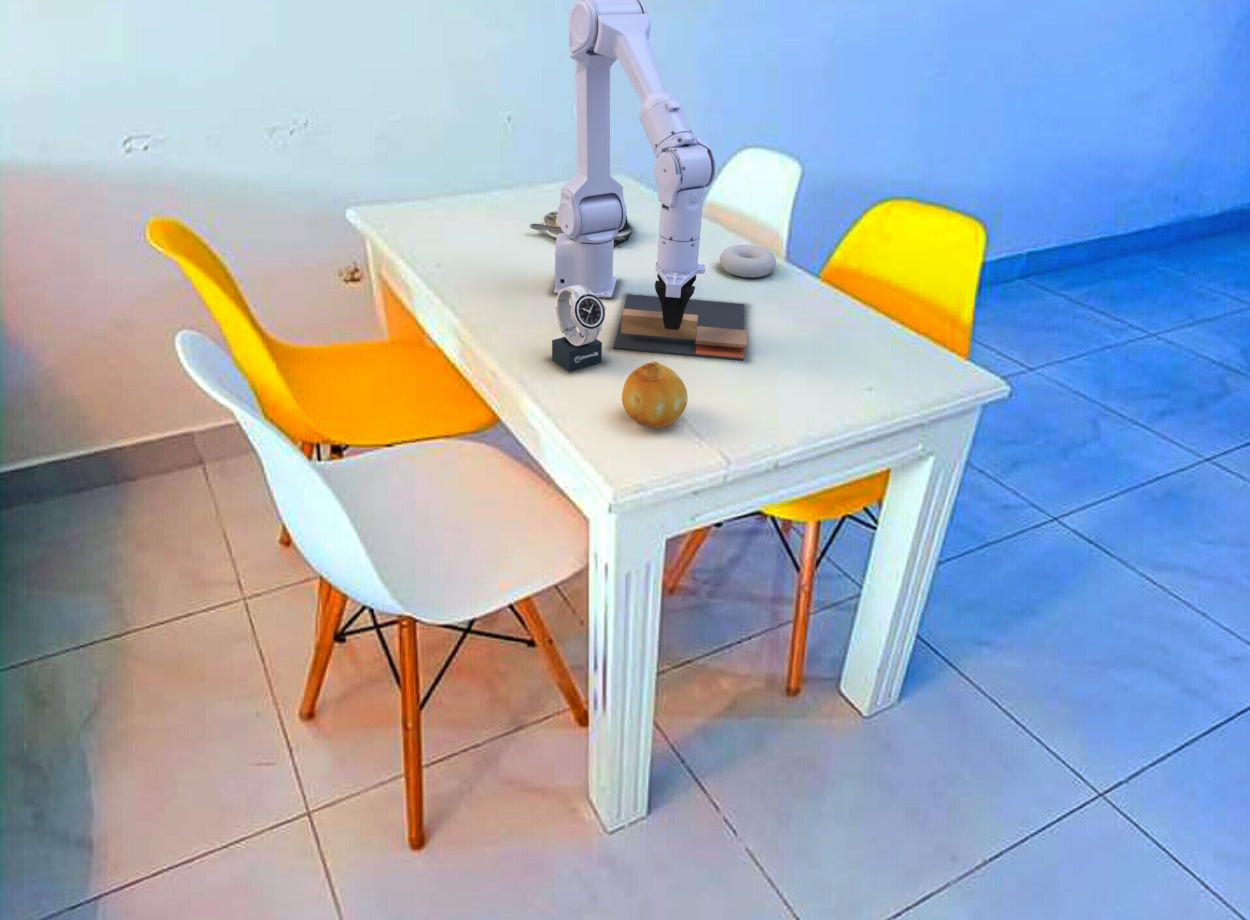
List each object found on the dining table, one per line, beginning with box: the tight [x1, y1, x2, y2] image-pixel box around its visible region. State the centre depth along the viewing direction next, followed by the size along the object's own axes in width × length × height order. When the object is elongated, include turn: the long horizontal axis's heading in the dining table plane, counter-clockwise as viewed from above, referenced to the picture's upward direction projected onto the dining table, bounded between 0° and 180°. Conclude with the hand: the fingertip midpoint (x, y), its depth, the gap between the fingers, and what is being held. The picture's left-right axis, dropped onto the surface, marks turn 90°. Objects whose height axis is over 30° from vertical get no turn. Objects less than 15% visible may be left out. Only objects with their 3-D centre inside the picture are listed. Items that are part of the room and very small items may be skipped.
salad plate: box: [529, 210, 633, 245], centre depth 173 cm, size 19×18×5 cm
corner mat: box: [612, 293, 745, 361], centre depth 141 cm, size 19×20×1 cm
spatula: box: [621, 308, 748, 349], centre depth 134 cm, size 18×5×3 cm, turn 84°
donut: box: [719, 244, 777, 279], centre depth 161 cm, size 10×4×10 cm
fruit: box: [621, 361, 689, 429], centre depth 115 cm, size 8×8×8 cm
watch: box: [551, 285, 607, 373], centre depth 127 cm, size 6×8×11 cm
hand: (672, 324), depth 134 cm, fingers closed on spatula, 2 cm apart
